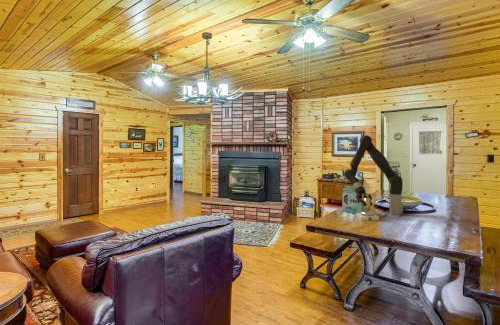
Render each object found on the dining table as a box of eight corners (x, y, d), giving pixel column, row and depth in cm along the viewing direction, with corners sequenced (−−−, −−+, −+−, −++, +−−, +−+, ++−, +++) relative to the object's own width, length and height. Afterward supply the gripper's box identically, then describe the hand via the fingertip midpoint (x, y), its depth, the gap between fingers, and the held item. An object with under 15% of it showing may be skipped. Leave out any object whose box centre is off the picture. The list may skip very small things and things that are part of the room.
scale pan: (371, 211, 242) (371, 210, 242) (376, 214, 231) (376, 213, 231) (358, 211, 242) (358, 210, 242) (362, 214, 231) (362, 213, 231)
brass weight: (369, 209, 239) (369, 197, 238) (371, 211, 234) (371, 198, 233) (362, 209, 239) (362, 197, 238) (365, 211, 234) (365, 198, 233)
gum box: (342, 211, 263) (342, 186, 262) (345, 210, 266) (345, 185, 265) (361, 215, 248) (361, 188, 247) (364, 214, 251) (365, 187, 250)
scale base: (373, 216, 242) (373, 212, 242) (379, 220, 230) (379, 216, 230) (356, 216, 243) (356, 213, 243) (361, 220, 231) (361, 216, 231)
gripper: (353, 186, 240) (363, 203, 229) (368, 185, 244) (378, 202, 234) (349, 192, 245) (359, 209, 235) (363, 190, 250) (373, 207, 239)
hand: (368, 205), depth 234 cm, fingers open, 5 cm apart
